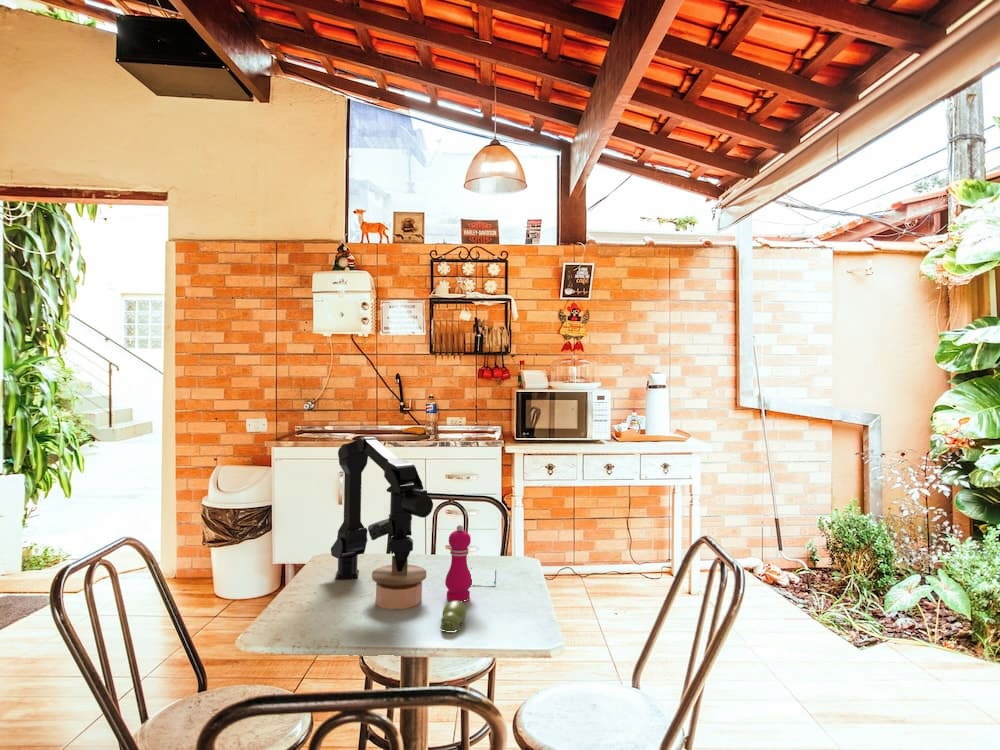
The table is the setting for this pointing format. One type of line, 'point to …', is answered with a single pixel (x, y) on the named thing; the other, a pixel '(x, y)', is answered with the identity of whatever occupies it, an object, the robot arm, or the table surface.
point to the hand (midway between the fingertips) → (399, 568)
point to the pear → (453, 615)
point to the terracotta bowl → (398, 595)
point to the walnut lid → (399, 574)
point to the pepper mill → (459, 566)
